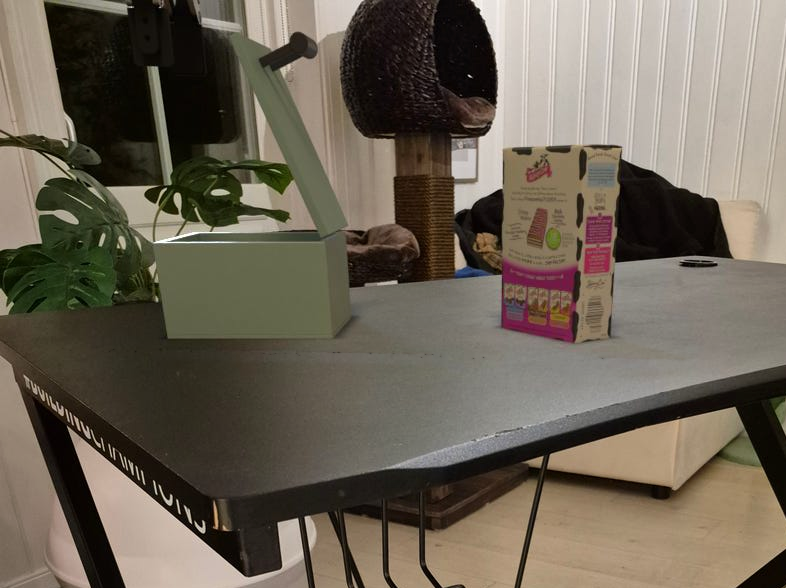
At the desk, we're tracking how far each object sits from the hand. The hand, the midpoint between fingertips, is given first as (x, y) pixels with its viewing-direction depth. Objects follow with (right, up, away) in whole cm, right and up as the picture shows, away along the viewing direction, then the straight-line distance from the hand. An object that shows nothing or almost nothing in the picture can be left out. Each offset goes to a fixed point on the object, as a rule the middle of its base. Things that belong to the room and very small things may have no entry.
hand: (173, 71), depth 80 cm
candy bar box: (+34, -21, +8) cm, 41 cm away
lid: (+10, -5, +3) cm, 11 cm away
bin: (+6, -19, +11) cm, 23 cm away
